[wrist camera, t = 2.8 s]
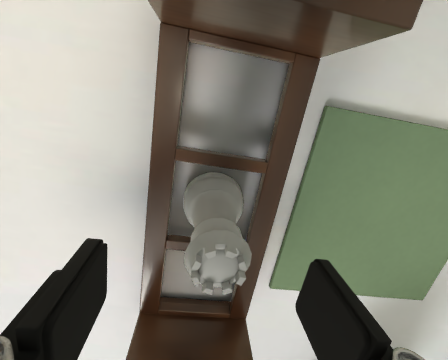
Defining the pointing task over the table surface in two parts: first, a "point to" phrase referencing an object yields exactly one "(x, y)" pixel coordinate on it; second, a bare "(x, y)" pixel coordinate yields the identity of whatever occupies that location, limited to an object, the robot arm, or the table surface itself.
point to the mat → (370, 206)
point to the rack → (270, 168)
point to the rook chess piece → (215, 233)
